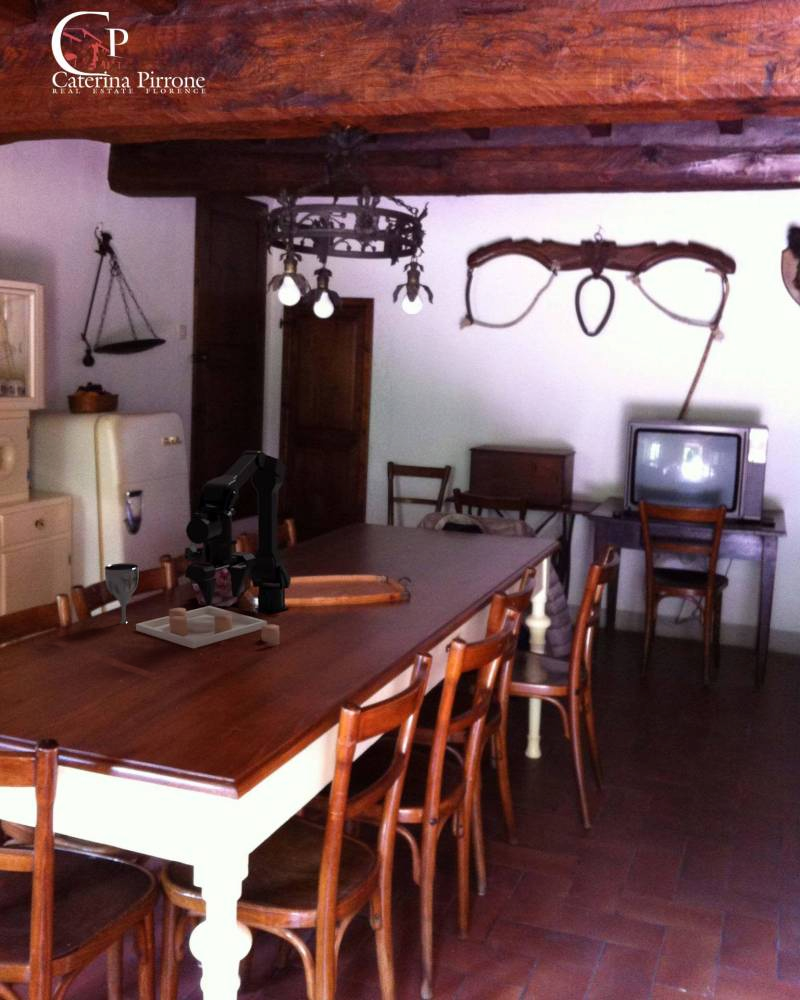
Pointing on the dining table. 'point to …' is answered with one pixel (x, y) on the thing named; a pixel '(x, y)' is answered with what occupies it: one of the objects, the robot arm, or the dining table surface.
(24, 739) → the dining table surface
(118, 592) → the wine glass
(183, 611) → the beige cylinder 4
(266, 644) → the pale tan cube
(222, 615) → the beige cube
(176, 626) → the seated bead
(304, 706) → the dining table surface
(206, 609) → the groove dish
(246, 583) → the flower
